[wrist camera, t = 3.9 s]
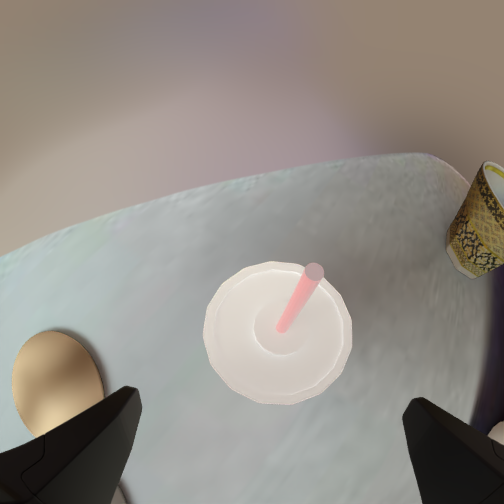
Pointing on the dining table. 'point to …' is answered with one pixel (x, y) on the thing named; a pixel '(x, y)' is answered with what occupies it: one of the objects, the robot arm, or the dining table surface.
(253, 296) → the beverage cup
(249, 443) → the dining table surface
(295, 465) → the dining table surface
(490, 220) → the ceramic cup
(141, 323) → the dining table surface
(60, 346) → the shiny gold rounded object
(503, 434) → the foam cup
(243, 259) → the dining table surface
